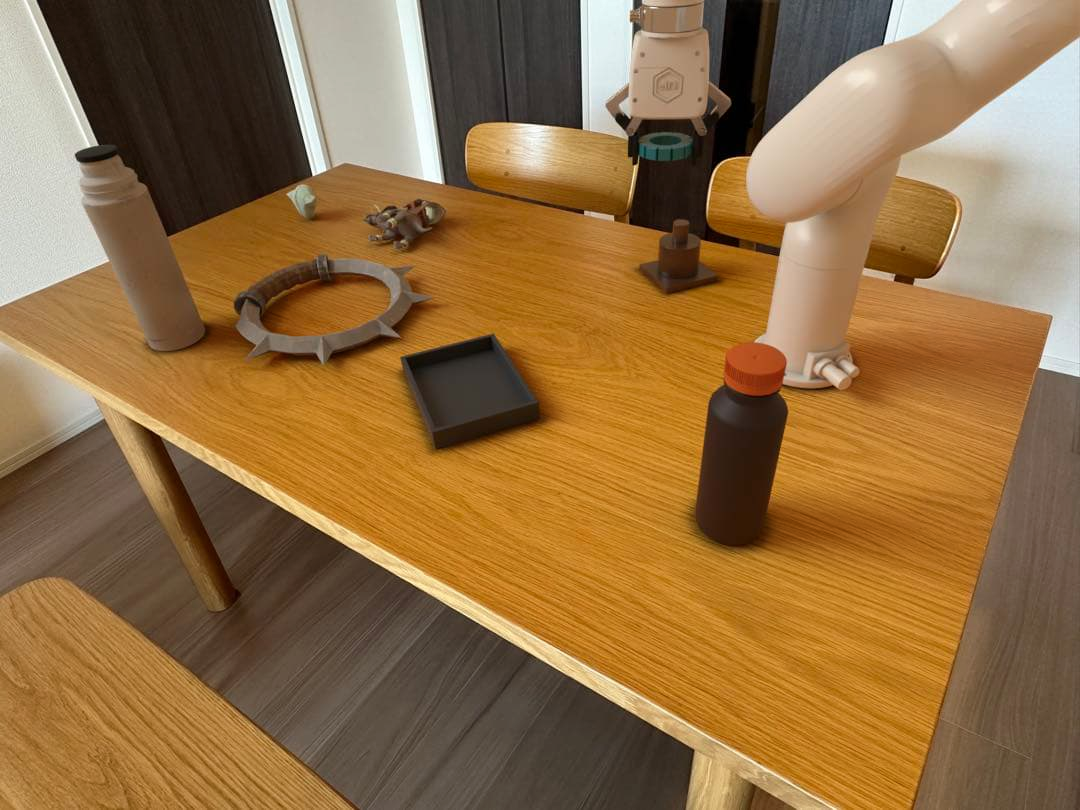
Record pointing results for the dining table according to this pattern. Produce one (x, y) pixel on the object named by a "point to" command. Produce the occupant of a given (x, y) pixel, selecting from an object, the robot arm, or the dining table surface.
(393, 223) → the figurine
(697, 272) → the ring stand
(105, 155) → the thermos bottle
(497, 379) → the tray
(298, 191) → the pale green irregular chunk
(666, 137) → the ring
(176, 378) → the dining table surface
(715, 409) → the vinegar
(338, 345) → the spiked ring
